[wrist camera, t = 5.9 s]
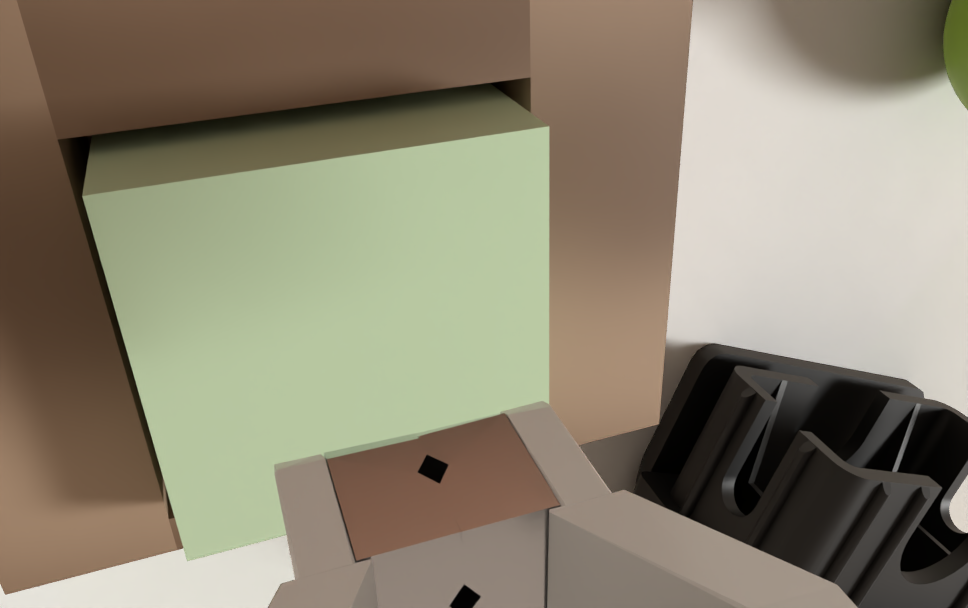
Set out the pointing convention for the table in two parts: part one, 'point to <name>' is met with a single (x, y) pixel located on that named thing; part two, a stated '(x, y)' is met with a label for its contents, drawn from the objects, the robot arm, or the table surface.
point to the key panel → (287, 85)
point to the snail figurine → (957, 48)
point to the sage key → (321, 284)
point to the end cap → (818, 472)
